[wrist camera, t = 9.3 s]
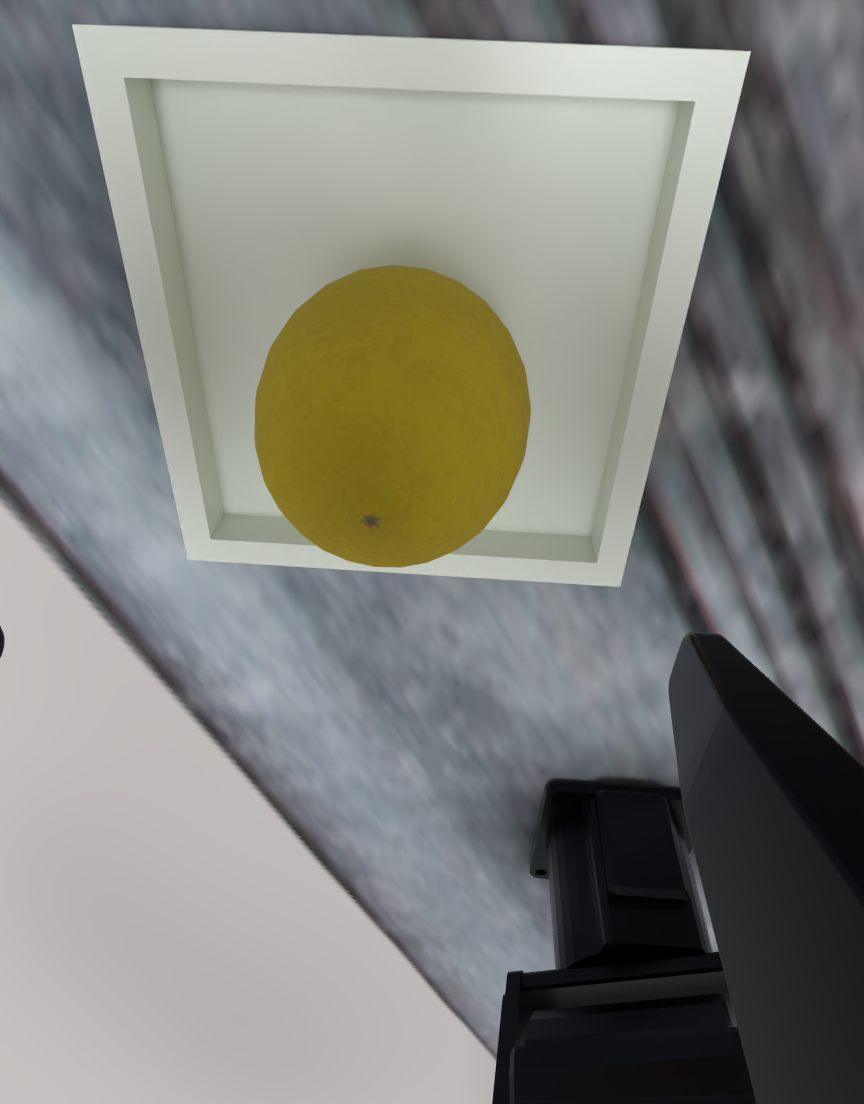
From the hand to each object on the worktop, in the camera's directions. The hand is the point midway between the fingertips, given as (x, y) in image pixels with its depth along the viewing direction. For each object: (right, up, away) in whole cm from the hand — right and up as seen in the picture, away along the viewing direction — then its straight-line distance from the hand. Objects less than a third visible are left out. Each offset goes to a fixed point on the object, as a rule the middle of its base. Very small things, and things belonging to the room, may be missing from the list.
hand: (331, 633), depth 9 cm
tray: (+1, +7, +9) cm, 11 cm away
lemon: (+1, +6, +9) cm, 11 cm away
